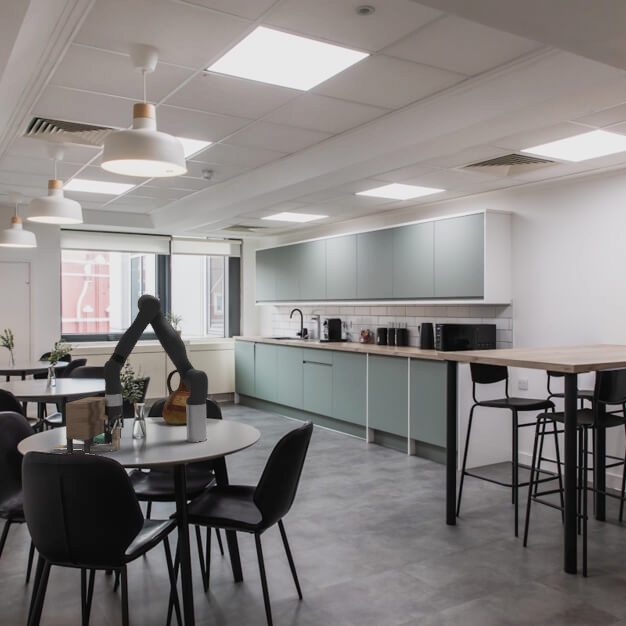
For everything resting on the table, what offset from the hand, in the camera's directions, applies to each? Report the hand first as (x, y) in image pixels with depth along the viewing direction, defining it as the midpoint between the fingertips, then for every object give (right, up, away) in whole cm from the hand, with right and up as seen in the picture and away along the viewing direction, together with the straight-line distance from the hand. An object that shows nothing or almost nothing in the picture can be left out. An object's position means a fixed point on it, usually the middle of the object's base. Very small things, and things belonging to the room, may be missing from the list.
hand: (114, 440), depth 276 cm
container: (-17, -5, +20) cm, 27 cm away
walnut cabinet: (-12, -4, +2) cm, 13 cm away
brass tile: (-25, -5, +4) cm, 26 cm away
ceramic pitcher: (+16, -4, +64) cm, 66 cm away
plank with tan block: (-11, -4, +2) cm, 11 cm away
